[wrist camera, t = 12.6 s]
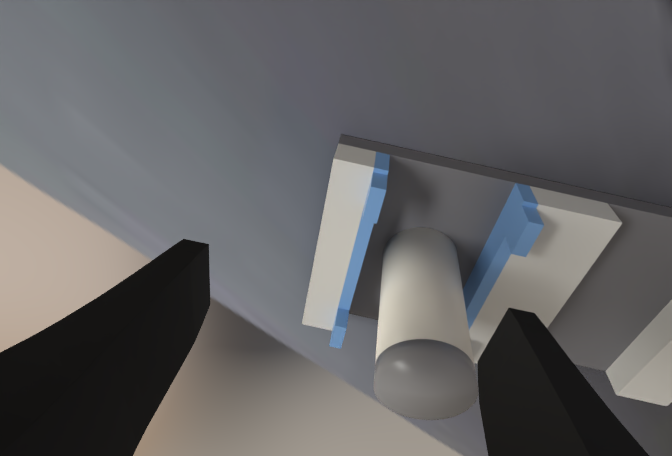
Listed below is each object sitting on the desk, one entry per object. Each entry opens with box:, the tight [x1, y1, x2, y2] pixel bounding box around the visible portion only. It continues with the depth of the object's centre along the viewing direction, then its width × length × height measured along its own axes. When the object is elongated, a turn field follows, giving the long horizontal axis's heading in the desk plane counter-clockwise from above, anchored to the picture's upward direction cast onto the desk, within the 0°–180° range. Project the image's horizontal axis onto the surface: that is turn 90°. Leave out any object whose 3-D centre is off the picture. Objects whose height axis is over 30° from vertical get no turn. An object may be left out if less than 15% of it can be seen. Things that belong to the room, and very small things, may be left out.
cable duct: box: [302, 134, 672, 406], centre depth 20 cm, size 20×10×4 cm, turn 80°
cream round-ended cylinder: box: [374, 227, 478, 420], centre depth 18 cm, size 4×4×8 cm
